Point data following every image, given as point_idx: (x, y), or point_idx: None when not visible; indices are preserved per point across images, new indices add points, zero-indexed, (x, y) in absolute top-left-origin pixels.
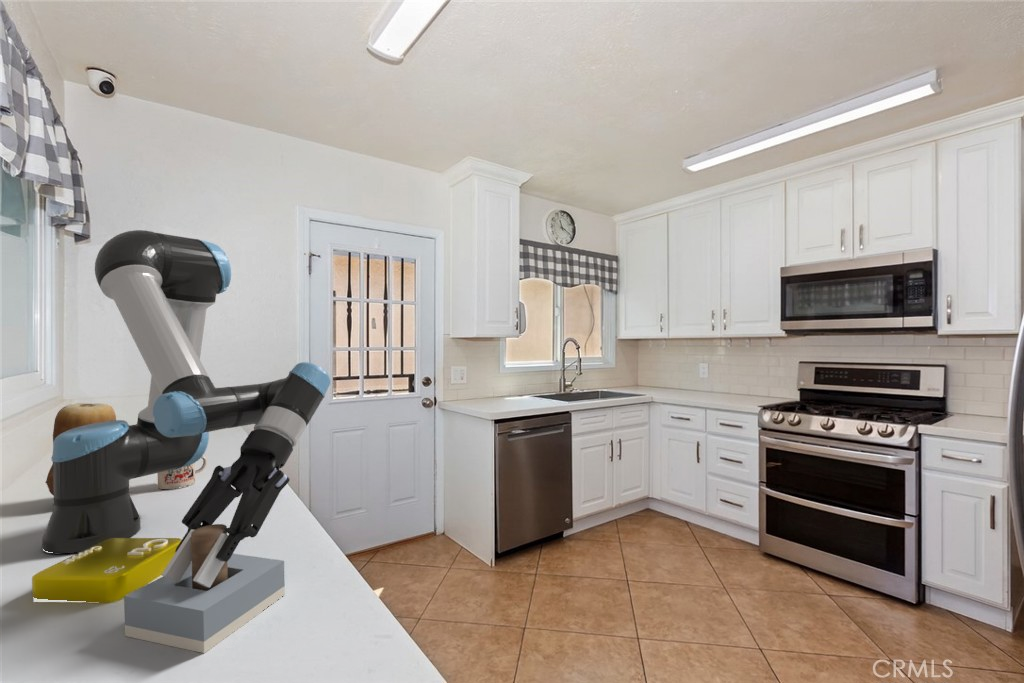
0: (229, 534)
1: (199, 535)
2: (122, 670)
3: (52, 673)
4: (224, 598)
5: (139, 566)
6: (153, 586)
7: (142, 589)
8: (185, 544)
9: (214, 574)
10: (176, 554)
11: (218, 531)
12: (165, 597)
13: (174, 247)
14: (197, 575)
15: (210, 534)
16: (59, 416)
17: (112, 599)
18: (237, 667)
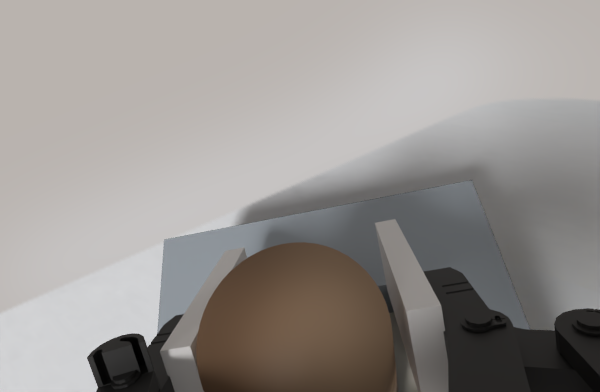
0: (164, 382)
1: (274, 261)
2: (318, 184)
3: (435, 125)
4: (160, 306)
5: None
6: (459, 248)
7: (469, 222)
8: (391, 270)
9: None
10: (397, 247)
11: (215, 345)
12: (337, 229)
13: None
14: (233, 255)
15: (225, 296)
16: None
17: None
18: (108, 283)
